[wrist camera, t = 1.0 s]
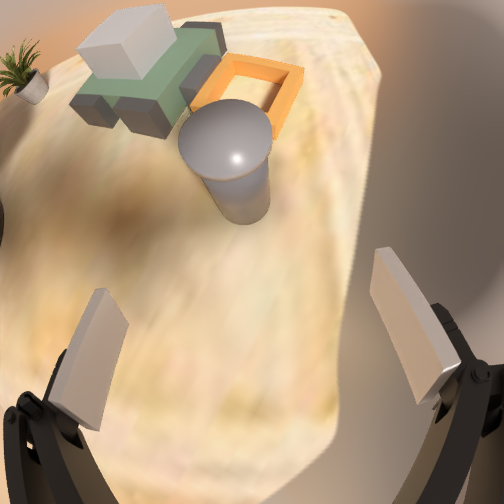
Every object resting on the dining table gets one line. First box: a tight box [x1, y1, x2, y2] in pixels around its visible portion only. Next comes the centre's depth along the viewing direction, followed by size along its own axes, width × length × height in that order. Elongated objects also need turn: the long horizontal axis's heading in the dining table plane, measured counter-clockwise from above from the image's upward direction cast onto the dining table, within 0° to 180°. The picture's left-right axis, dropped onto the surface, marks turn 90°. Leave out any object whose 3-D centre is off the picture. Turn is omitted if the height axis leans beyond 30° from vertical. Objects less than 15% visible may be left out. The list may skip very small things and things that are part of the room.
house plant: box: [0, 40, 49, 105], centre depth 30 cm, size 14×14×16 cm
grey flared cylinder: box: [178, 99, 272, 225], centre depth 24 cm, size 6×6×13 cm
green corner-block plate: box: [69, 4, 304, 140], centre depth 27 cm, size 30×19×13 cm, turn 68°
